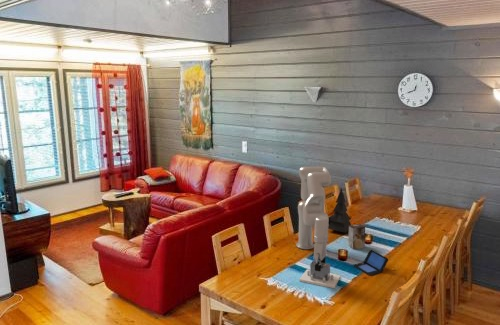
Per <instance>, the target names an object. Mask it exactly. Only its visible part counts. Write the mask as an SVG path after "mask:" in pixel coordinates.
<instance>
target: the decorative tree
mask: <svg viewBox="0 0 500 325" xmlns="http://www.w3.org/2000/svg"><path fill="white" fill-rule="evenodd" d="M335 203H336V205H335V207H334V208H333V210H332V212H333V214H332V215H333V216H332V217H331V219H330V220H329V221H331V223H330V224H329V225H328V230H333V231H336V232H337V233H347V232H349V225H352V223H351V220H352V218H351V217H350V216H349V214H348V209H347V206H346V199H345V195H344V192H343V189H342V187H340V190H339V194H338V195H337V198H336V201H335Z"/></svg>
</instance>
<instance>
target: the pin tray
mask: <svg viewBox="0 0 500 325" xmlns="http://www.w3.org/2000/svg"><path fill="white" fill-rule="evenodd" d="M340 280H341V275H339V274H334V273H330V278H329V279H328V281H326V280H325V277H323V280H321V279H316V278H313V275H311V277H310V268H309V269H307V268H306V270H305V271H304V272H303V274H302V275H301V276H300V278H299V279H298V281H299V282H303V283H306V284H307V283H308V284H310V285H311V284H312V285H316V286H321V287H325V288H331V289H335V288H336V287H337V285H338V284H339V281H340Z"/></svg>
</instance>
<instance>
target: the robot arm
mask: <svg viewBox="0 0 500 325" xmlns="http://www.w3.org/2000/svg"><path fill="white" fill-rule="evenodd" d="M298 175H299V178H300V181H301V187H300V198H301V200H302V201H300V202H299V203H298V204H297V213H298V242H296V244H295V245H296V247H297V248H298V249H300V250H312V249H313V260H314V261H315V271H321V265H320V263H321V262H322V263H326V259H327V258H326V255H327V243H328V242H329V229H328V226H329V225H328V222H329V217H330V216H329V215H328V213H326V212H324V211H325V200H326V192H325V188H324V187H328V186H330V185H331V183H332V177H331V174H330V172H329V170H328V169H327V167H325V166H302V167H300V168H299V169H298ZM313 234H314V235H313ZM313 236H314V238H313ZM313 241H314V242H313Z"/></svg>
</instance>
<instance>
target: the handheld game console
mask: <svg viewBox="0 0 500 325" xmlns="http://www.w3.org/2000/svg"><path fill="white" fill-rule="evenodd" d="M388 261H389V259H388V257H386V256H384V255H382V254H380V253H378V252H377V251H375V250H373V249H369V251H368V252H367V255H366V257H365V259H364V261H362V262H359V263H355V264H353V267H355V268H356V269H357V270H359V271H361V272H362V273H364V274H366V275H367V276H369V277H370V276H371V277H373V276H377V275H380V274H382V273H383V271H384V269H386V268H385V267H386V265H387V263H388Z"/></svg>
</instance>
